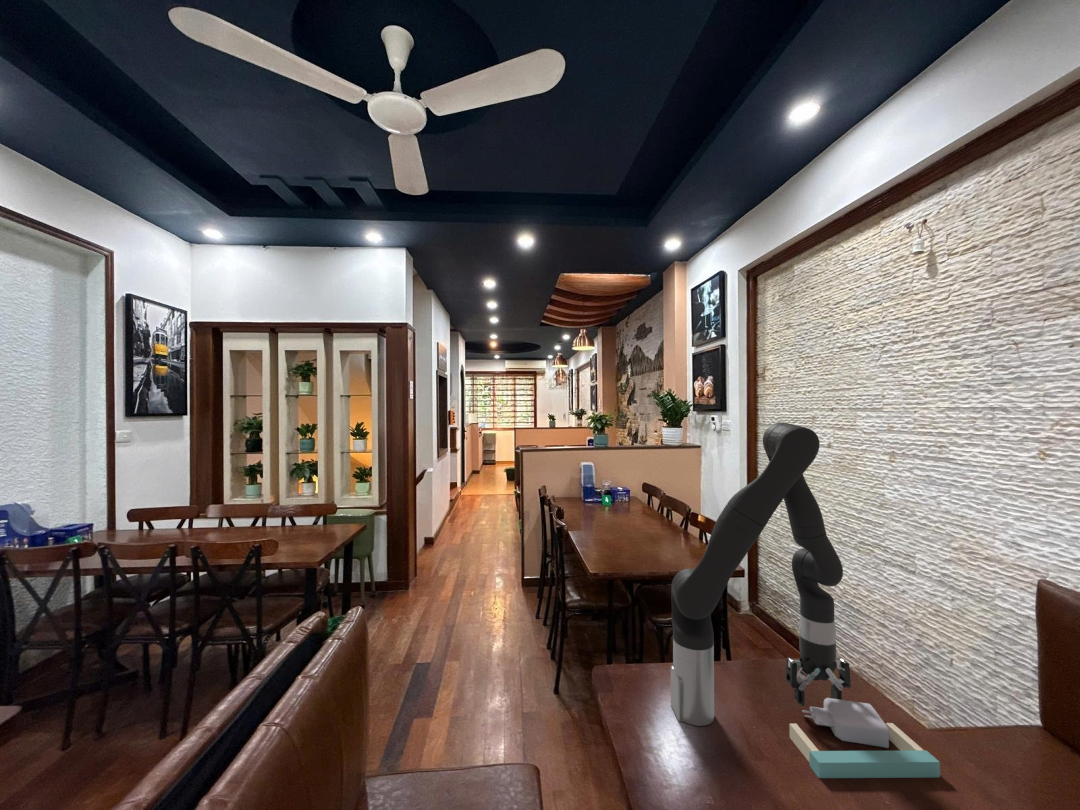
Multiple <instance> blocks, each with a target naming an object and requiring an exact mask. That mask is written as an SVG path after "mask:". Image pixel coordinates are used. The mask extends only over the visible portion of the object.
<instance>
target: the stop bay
mask: <svg viewBox="0 0 1080 810" xmlns="http://www.w3.org/2000/svg"><path fill="white" fill-rule="evenodd" d="M885 724H886V726H887V728H888V731H889V742H891V743H892V744H893V745H894V746H895V747H896V748H898V750H819V749H818V748H817V747H816V745H815V744H814V743H813V742H812V740H810V738H809V737H808V736H807V734H806V733H805V732H804V731H803V730H802V728H800V726H799V725H798V724H797V723H789V726H788V727H789V738H790V740H791V741H792V742H793V744H794V745H795V746H796V748H797V749H798V750H799V751H800V753H801V754H802V755H803V756H804V758H805V759H806V760H807V761H808V763H809V767H810V769H811V771H813V772H814V774H815V775H816V777H817V778H818V779H867V778H868V779H881V778H882V779H888V778H889V779H890V778H891V779H892V778H894V779H898V778H901V779H903V778H904V779H906V778H910V779H911V778H914V779H915V778H916V779H917V778H919V779H920V778H921V779H922V778H941V762H940V761H939V760H938V759H937V758H936V757H935V756H934V755H932V754H931V753H930V752H929V751H928V750H926V749H925V750H924V749H923V748H922V747H921V746H920V745H918V744H917V743H916V742H915V741H914V740H913V739H911V737H909V736H908V735H907V734H906V733H904V732H903V730H901V729H900V728H899V727H898V726H897V725H895V724H894V723H893V722H885Z"/></svg>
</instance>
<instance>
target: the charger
mask: <svg viewBox="0 0 1080 810" xmlns="http://www.w3.org/2000/svg"><path fill="white" fill-rule="evenodd" d="M801 712H802V713H807V714H804V717H805V718H811V719H813V721H814V723H815V724H816V725H817V726H825V727H829V728H830V729H831V732H832V733H833V734H834V737H836V738H838V739H839V741H840V740H841V741H842V742H846V743H847V742H848V743H855V744H860V745H866V746H874V747H879V748H884V749H890V748H889V747H890V740H889V731H888V728H887V726H886V722H884V720H883V719H882V718H881V716H880V715H879V714H878V712H877V711H876V709H875V708H874V707H873V706H872V705H871V703H867V702H860V701H852V700H847V699H842V700H839V699H832V698H831V697H826V698H824V700H823V707H817V706H809V710H807V709H802V711H801ZM809 714H811V715H809Z"/></svg>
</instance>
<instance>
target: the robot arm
mask: <svg viewBox="0 0 1080 810" xmlns="http://www.w3.org/2000/svg"><path fill="white" fill-rule="evenodd" d="M762 445H763V450H764V452H765V454H766V456H767V459H768V461H769V462H768V464H767V466H765V469H764V470H763V471H762V472H761V473H760V475H758V476H757V477H756V478H755V479H754V480H753V481H752V482H750V483H748V484H747V485H745V486H744V487H742V488H741V489H740V490H739V491H737V492H736V493H735V494H734V495H732V496H731V498H730V499H729V501H728V502H727V503H726V505H725V506H724V507H723V510H721V512H720V514H719V515H718V518H717V519H716V521H715V524H714V525H713V528H712V531H711V534H710V536H709V540H708V544H707V546H706V549H705V552H704V554H703V556H702V558H701V559H700V561H699V562H698V563H697V565H696V566H695V568H685V569H681V570H680V571H678V572H677V573H676V574H675V575H674V577H673V579H672V581H671V595H670V596H671V599H670V600H671V624H672V625H671V626H672V646H673V647H672V653H673V654H672V660H673V661H672V663H673V665H671V666H670V707H671V708H672V711H673V713H674V714H675V717H676V718H677V719H676V720H677V721H678V722H682V723H686V724H688V725H691V726H698V727H703V726H708V725H711V724H712V723H713V721H714V720H715V664H714V663H715V662H714V661H715V657H714V656H715V655H714V654H715V651H714V650H715V649H714V648H715V647H714V646H715V641H714V640H715V639H714V637H715V636H714V629H713V628H714V627H713V623H712V617H711V616H712V613H713V612H714V610H715V608H716V607H717V605H718V603H719V601H720V599H721V598H722V594H723V593H724V591H725V589H726V587H727V585H728V583H729V582H730V579H731V577H732V576H733V574H734V573H735V571H736V569H738V567H739V565H740V564H741V562H743V560H744V558H745V557H746V555H747V554H748V552H749V551H750V550H751V548H752V546H753V545H754V544H755V542H756V541H757V540H758V538H759V537H760V535H761V533H762V532H763V530H764V529H765V527H766V525H767V524H768V523H769V521H770V519H771V518H772V517H773V515H774V513H775V512H776V510H777V509H778V507H779V506H780V505H781V503H782V501H783V500H784V501H783V502H784V505H785V508H786V511H787V512H786V513H787V516H788V520H789V525H790V530H791V533H792V537H793V540H794V542H795V544H797V545H798V546H799V547H801V548H799V549H798V550H796V551H795V552H794V553H793V555H792V558H791V570H792V575H793V577H794V581H795V585H796V588H797V591H798V595H799V598H800V599H799V623H798V627H799V628H798V633H799V634H798V637H799V638H798V639H799V641H798V643H799V647H798V648H799V654H800V656H799V658H798V659H792V657H790V656H789V657H787V658H786V661H785V662H786V663H785V664H786V665H785V681H786V684H788V685H789V686H790V687H791V688H792V689H793V692H794V693H793V697H794V700H795V701H796V702H797V703H798V705H799V706H801V707H802V706H803V707H805V688H806V687H807V686H808V685H810V684H812V681H815V682H816V681H828V680H829V681H830V683H831V685H830V698H832V699H839V700H843V695H842V694H843V690H844V688H847V689H850V688H851V687H852V686H851V685H852V684H851V683H852V681H851V669H850V668H851V667H850V664H849V662H848V661H847V660H845V659H844V658H842V657H841V656H840V657H839V656H838V658H837V631H836V628H837V627H836V623H835V621H836V620H835V600H834V598H833V596H832V595H831V594H830V593H828V592H827V591H825V590H824V589H823V588H821V586H820V585H823V586H826V587H836V586H838V584H840V583H841V581H842V580H843V576H844V568H843V564H842V562H841V559H840V556H839V555H838V553H837V551H836V549H835V547H834V546H833V544H832V542H831V540H830V539H829V537H828V535H827V531H826V526H825V522H824V518H823V514H822V511H821V507H820V506H819V504H818V502H817V499H816V498H815V496H814V494H813V492H812V491H811V489H810V487H809V485H808V483H807V481H806V478H805V476H804V473H805V471H807V469H808V468H809V467H810V466H811V465H812V463H813V462H814V461H815V459H816V458H817V455H818V453H819V451H820V438H819V436H818V435H817V433H816V431H814V430H812V429H810V428H808V427H805V426H801V425H797V424H792V423H788V422H775V423H773V424H770V426H768V427H767V428H766V429H765V431H764V432H763V437H762ZM819 584H820V585H819ZM835 670H837V671H838V672H837V673H838V677H836V675H835V674H834V672H835ZM805 675H806V676H805Z"/></svg>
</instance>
